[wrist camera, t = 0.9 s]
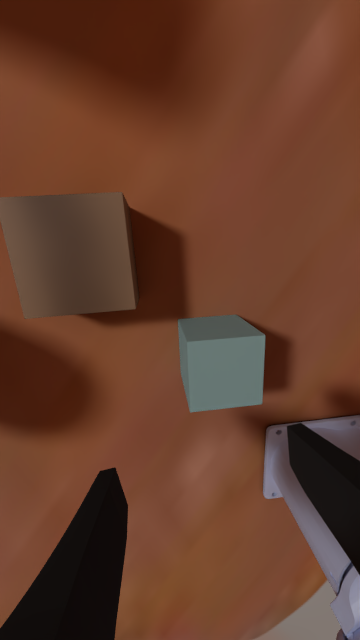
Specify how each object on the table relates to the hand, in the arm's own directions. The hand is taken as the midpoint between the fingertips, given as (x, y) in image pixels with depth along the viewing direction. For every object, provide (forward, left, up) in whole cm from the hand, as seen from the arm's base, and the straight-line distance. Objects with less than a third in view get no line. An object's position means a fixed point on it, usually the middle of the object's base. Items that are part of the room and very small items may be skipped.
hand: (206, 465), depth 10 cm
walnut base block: (+6, -9, -10) cm, 14 cm away
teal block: (-2, -2, -10) cm, 10 cm away
